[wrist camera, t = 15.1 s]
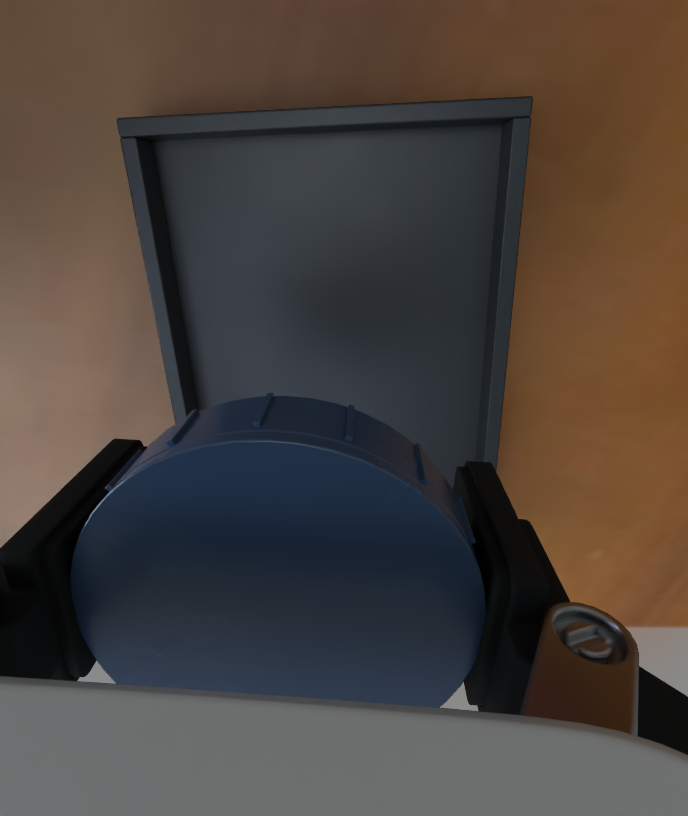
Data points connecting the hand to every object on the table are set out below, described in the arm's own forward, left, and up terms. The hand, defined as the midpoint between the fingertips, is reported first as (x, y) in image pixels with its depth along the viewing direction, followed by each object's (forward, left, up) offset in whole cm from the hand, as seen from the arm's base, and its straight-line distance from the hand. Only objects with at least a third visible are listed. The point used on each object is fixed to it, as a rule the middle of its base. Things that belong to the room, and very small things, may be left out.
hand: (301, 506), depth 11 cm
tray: (0, 0, -12) cm, 12 cm away
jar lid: (0, 0, +3) cm, 3 cm away
